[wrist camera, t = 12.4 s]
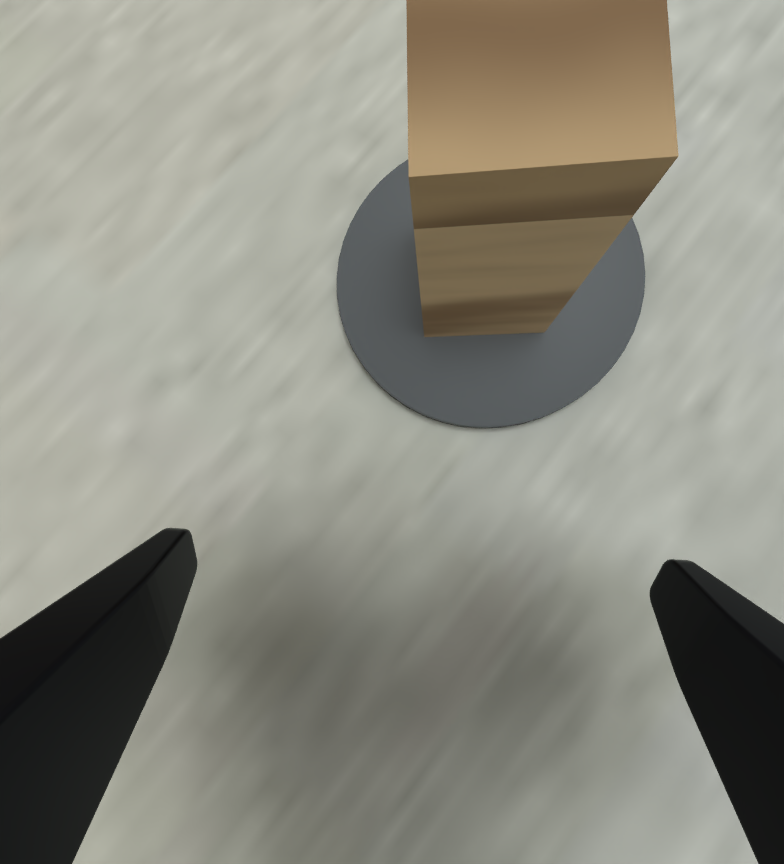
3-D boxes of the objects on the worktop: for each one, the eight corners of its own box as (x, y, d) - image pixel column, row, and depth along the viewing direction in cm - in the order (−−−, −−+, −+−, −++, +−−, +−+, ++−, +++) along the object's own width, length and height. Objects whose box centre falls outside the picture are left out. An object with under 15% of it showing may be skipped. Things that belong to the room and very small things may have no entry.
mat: (684, 202, 20) (694, 191, 20) (565, 477, 20) (570, 477, 19) (410, 110, 22) (409, 97, 21) (294, 359, 22) (288, 354, 21)
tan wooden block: (544, 332, 20) (678, 156, 9) (424, 337, 20) (408, 177, 9) (539, 218, 20) (660, -83, 9) (422, 226, 21) (405, -49, 10)
